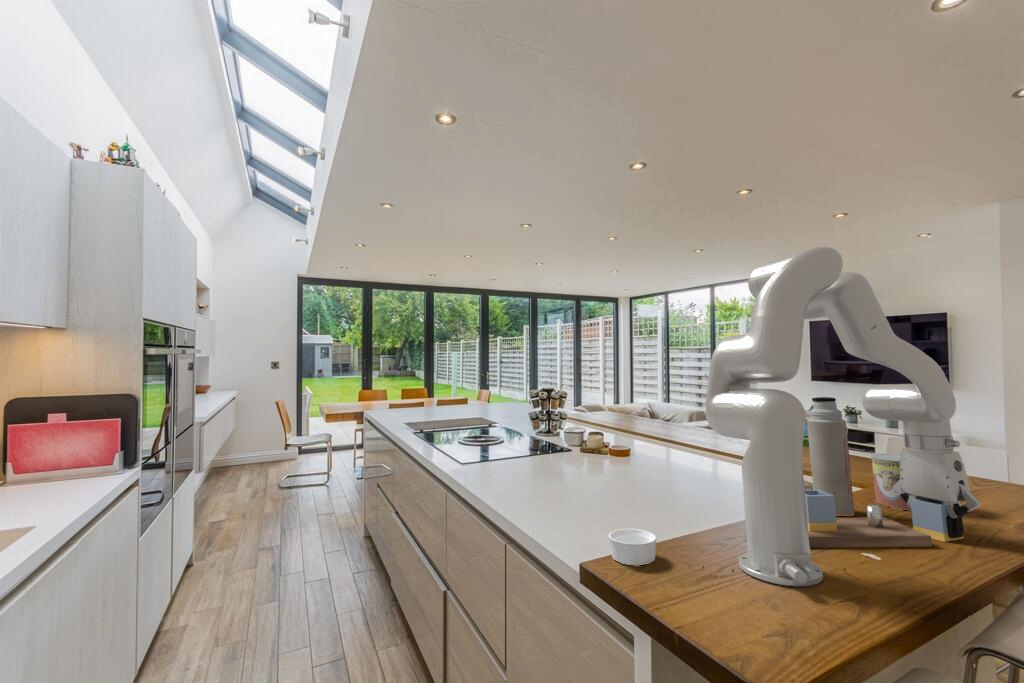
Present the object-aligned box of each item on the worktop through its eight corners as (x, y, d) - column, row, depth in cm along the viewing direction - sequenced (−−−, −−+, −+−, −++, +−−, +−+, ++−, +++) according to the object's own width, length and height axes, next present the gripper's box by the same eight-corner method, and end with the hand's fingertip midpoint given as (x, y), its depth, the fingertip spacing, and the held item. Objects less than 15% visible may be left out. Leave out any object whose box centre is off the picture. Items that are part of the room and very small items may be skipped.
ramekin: (600, 554, 89) (599, 532, 89) (638, 547, 92) (637, 525, 92) (627, 572, 80) (626, 547, 81) (667, 563, 83) (666, 539, 84)
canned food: (866, 503, 116) (861, 456, 117) (890, 497, 121) (885, 452, 122) (920, 514, 106) (914, 463, 107) (944, 507, 111) (938, 458, 112)
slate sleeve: (963, 538, 91) (959, 502, 91) (944, 542, 89) (940, 505, 90) (931, 530, 96) (928, 496, 96) (913, 533, 94) (910, 499, 95)
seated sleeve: (837, 531, 91) (834, 495, 92) (809, 531, 92) (806, 496, 92) (821, 522, 97) (818, 489, 97) (795, 522, 97) (792, 489, 98)
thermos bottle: (858, 512, 110) (847, 396, 112) (849, 519, 105) (837, 398, 107) (820, 505, 116) (811, 396, 118) (809, 512, 111) (800, 397, 113)
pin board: (932, 546, 87) (928, 514, 87) (803, 547, 89) (800, 516, 89) (885, 526, 99) (882, 498, 99) (772, 527, 101) (770, 500, 101)
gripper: (992, 447, 87) (1004, 544, 85) (896, 437, 103) (904, 518, 102) (966, 450, 85) (977, 549, 83) (872, 439, 101) (880, 522, 100)
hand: (937, 531), depth 93 cm, fingers closed on slate sleeve, 5 cm apart
